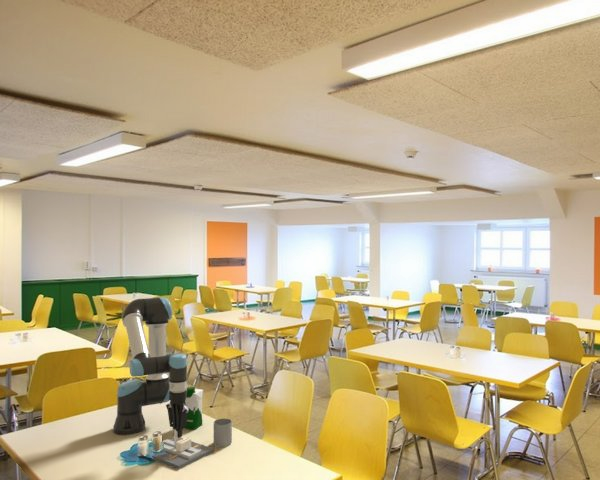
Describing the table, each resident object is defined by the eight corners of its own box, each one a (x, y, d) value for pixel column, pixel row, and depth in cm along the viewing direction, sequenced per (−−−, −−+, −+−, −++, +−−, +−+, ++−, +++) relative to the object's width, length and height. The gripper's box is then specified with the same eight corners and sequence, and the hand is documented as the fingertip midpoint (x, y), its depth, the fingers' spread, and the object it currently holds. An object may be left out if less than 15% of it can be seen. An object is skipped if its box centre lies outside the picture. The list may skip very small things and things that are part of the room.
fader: (175, 453, 202) (175, 441, 202) (186, 448, 207) (186, 437, 207) (180, 455, 200) (180, 443, 201) (191, 450, 206) (191, 438, 206)
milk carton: (180, 428, 235) (180, 388, 235) (190, 422, 243) (190, 383, 244) (195, 430, 232) (195, 390, 232) (205, 424, 240) (205, 385, 241)
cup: (227, 448, 212) (227, 425, 212) (210, 446, 213) (210, 424, 214) (234, 440, 220) (234, 419, 220) (217, 439, 222) (217, 417, 222)
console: (141, 455, 204) (141, 449, 204) (176, 439, 221) (176, 434, 221) (178, 469, 191) (178, 462, 191) (213, 451, 208) (213, 445, 208)
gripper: (161, 390, 207) (160, 443, 207) (181, 395, 200) (181, 450, 200) (174, 385, 213) (174, 437, 213) (194, 390, 206) (194, 444, 206)
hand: (177, 443), depth 206 cm, fingers closed
